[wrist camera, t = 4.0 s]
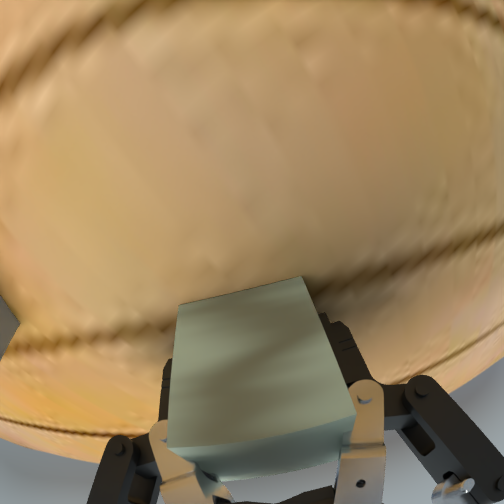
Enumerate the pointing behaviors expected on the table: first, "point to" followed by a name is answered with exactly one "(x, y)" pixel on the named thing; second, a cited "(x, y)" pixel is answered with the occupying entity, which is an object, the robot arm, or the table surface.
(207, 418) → the sage block
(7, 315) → the slate base block
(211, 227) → the table surface
